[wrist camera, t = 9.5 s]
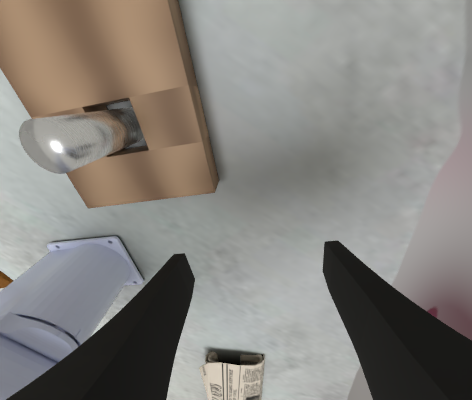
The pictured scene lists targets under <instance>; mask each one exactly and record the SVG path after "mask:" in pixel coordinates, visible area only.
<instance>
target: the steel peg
mask: <svg viewBox="0 0 472 400" xmlns="http://www.w3.org/2000/svg"><path fill="white" fill-rule="evenodd" d="M19 137H20V141H21V144H22V146H23V148H24V150H25V151H26V153H27V154H28V155H29V157H30V158H31V159H32V160H33V161H34V162H35V163H37V164H38V165H39V166H41V167H42V168H44V169H46V170H48V171H51V172H54V173H59V174H63V173H68V172H70V171H73V170H75V169H77V168H79V167H82V166H84V165H86V164H89V163H91V162H93V161H95V160H98V159H100V158H102V157H105V156H107V155H109V154H111V153H114V152H116V151H118V150H121V149H123V148H125V147H127V146H130V145H132V144H134V143H137V142H139V141H141V140H143V139H145V138H144V135H143V133H142V130H141V127H140V125H139V122H138V120H137V117H136V114H135V112H134V109H133V107H129V108H121V109H112V110H104V111H95V112H87V113H78V114H70V115H61V116H53V117H45V118H36V119H29V120H27V121H25V122H24V123H23V124H22V125H21V127H20V130H19Z"/></svg>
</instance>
